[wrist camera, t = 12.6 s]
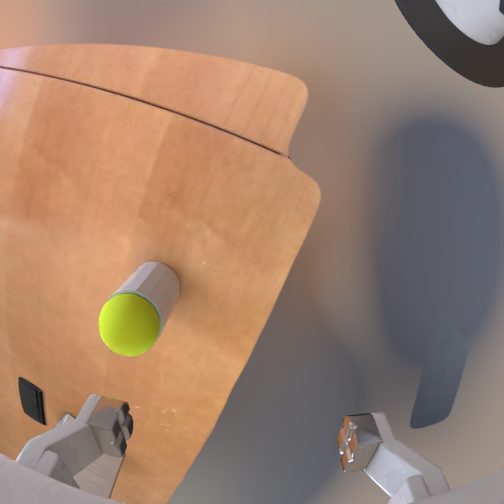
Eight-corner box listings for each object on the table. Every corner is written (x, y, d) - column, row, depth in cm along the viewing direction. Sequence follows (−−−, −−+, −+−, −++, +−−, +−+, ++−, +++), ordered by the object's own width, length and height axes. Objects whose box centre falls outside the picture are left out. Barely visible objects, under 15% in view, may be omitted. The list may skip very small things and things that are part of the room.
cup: (131, 259, 39) (101, 287, 31) (180, 263, 39) (160, 293, 31) (135, 306, 41) (110, 340, 33) (181, 310, 41) (165, 348, 33)
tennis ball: (109, 281, 32) (83, 307, 26) (164, 286, 33) (146, 315, 26) (116, 331, 34) (95, 363, 28) (167, 337, 35) (153, 372, 28)
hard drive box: (57, 422, 51) (21, 485, 32) (68, 411, 50) (28, 480, 30) (112, 461, 54) (88, 527, 35) (127, 453, 53) (102, 525, 34)
